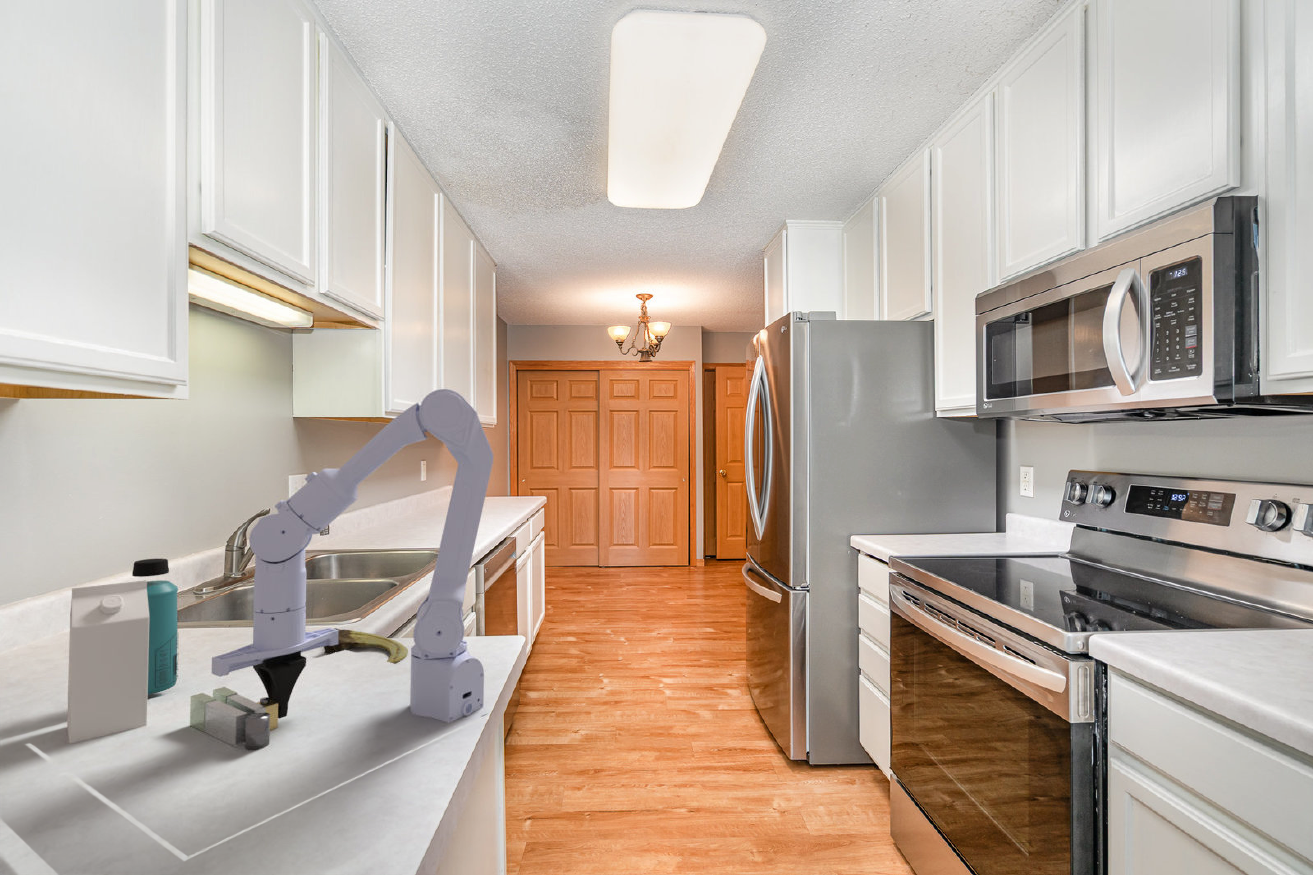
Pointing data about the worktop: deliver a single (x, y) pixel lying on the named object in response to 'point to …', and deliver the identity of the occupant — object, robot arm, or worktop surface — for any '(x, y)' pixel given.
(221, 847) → the worktop surface
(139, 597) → the milk carton
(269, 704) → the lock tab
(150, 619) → the beverage bottle
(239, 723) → the tongs fixed
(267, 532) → the robot arm
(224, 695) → the bar
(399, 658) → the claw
